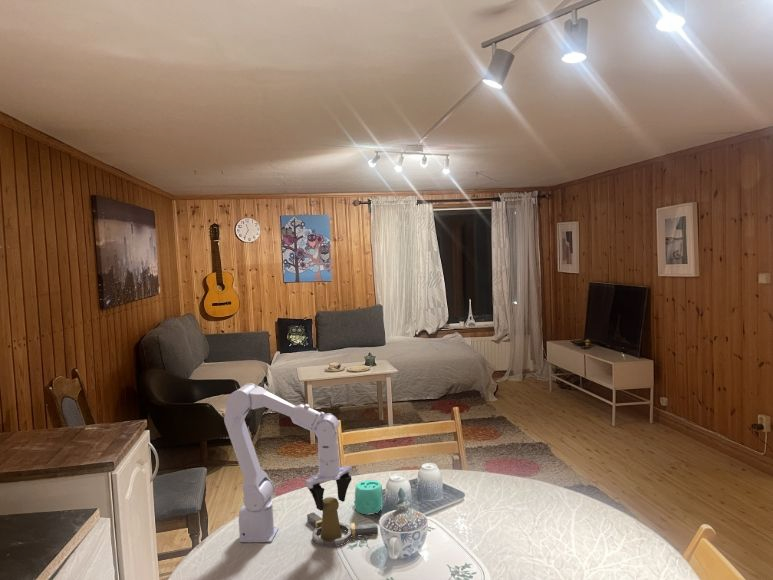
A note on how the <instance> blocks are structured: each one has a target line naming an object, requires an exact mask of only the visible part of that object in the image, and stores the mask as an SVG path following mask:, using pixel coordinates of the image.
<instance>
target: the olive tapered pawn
mask: <svg viewBox="0 0 773 580" xmlns="http://www.w3.org/2000/svg"><path fill="white" fill-rule="evenodd" d="M339 505H340V503H339V499H338V498H335V497H333V496H330V497H329V496H328V497H325V498H323V510H321V511H322V515H321V518H322V527H321V533H320V538H321V539H324V540H335V539H339V538H340V537H341V538H342V537H343V535H342V530H341V529H340V524H339V522H340V519H339V514H338V510H339Z"/></svg>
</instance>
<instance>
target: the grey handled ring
mask: <svg viewBox="0 0 773 580" xmlns="http://www.w3.org/2000/svg"><path fill="white" fill-rule="evenodd" d="M306 519H307V523H308V524H310V525H311V526H313V527H314V529H313V532H312V541H313V542H314V544H315V545H317V546H319V547H323V548H336V547H339V546H338V545H340V546H342V545H341V544H343V545H345V544H347V543H348V542H349V541H351V540H352V537H356V536H357V537H359V536H358V535H367V536H371V535H370V534H378V535H379V526H378V523H366V524H357V525H356V523H355V522H352V523H350V525H349V524H347V523H343V522H340V521H339V524H340V529H341V531H344V530H346V531H347V532H348V533H347V532H346V531H345V532H346V534H345V535H343V536H341V538H339V539H335V540H324V539H321V537H319V535H321V527H322V516H319V515H318V514H316V513H315V512H310V513H308V514H306ZM351 536H352V537H351ZM350 539H351V540H350ZM348 540H349V541H348ZM347 541H348V542H347ZM346 542H347V543H346ZM344 543H345V544H344Z"/></svg>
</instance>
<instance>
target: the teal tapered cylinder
mask: <svg viewBox="0 0 773 580" xmlns="http://www.w3.org/2000/svg"><path fill="white" fill-rule="evenodd" d="M354 490H355V491H354V504H355V505H354V506H355V510H356V511H357V513H358V514H360V513H361V514H360V515H363V514H368V513H376V512H378V511H380V510H381V511H382V510H383V485H382V483H381V482H379V481H378V480H374V479H366V480H365V479H364V480H362V481H359V482H357V483H356V484H355V489H354ZM381 511H380V512H381Z"/></svg>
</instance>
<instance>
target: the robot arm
mask: <svg viewBox="0 0 773 580" xmlns="http://www.w3.org/2000/svg"><path fill="white" fill-rule="evenodd" d="M225 405H226V407H225V412H224V417H223V421H224V425H225V429H226V431H227V433H228V436H229V437H228V438H229V439H230V443H231V445H232V447H233V451H234V454H235V456H236V460H237V463H238V466H239V469H240V470H241V474H242V477H243V480H242V481H243V482H242V491H243V498H242V499H243V505H242V506H241V507H240V509H239V512H238V528H239V529H238V531H239V540H238V542H239V543H272V541H273V540H274V539H275V538H274V537H275V535H276V534H277V532H278V530H279V526H275V525H274V524H275V523H274V510H273V509H274V508H273V505H274V504H273V501H272V495H273V494H274V493H275V484H274V482H273V481H272V480H271V479H270V478H269V476H268V473H267V472H266V471H264V470H263V469H262V468H261V464H260V462H259V458H258V455H257V453H256V450H255V446H254V444H253V440H252V439H251V436H250V435H251V434H250V432H249V429H248V425H247V424H246V420H245V418H246V416H247V415H248V414H249V411H250V410H256V409H261V408H266V409H269V410H271V411H275V412H277V413H279V414H282V415H285V416H287V417H289V418H290V419H291V422H292V423H293V424H295V425H297V426H299V427H302V428H303V429H306V430H308V431H310V432H312V433H314V434H315V436H316V438H317V454H318V455H317V457H318V473H316V474H315V475H313V476H311V477H309V478H308V479H306V480H305V484H306V485H305V487H307V489H308V490H309V492H310V494H311V496H312V498H313V499H314V503H315V507H316V509H317V510H318V511H320V512H321V511H322V510H323V499H324V493H325V488H324V487H322V485H321V484H323V483H327V482H330V481H336V482H335V483H336V486H337V488H336V489H337V500H338V501H340V502H342V503H344V502H345V500H346V496H347V491H348V488H349V485H350V483H351V482H352V476H351V474H352V473H353V470H352V469H353V467H352V466H350V465H345V466H341V467H340V459H339V440H338V432H337V431H338V429H339V426H340V425H339V424H340V422H339V420H338V418H337V417H336V416H335V415H334V414H332V413H330V412H329V413H325V412H323V411H318V410H316V409H313V408H311V407H310V406H311V405H310V404H308V403H305V404H302V403H300V404H297V405H294V404H293V403H290V402H289V401H287V400H285V399H283V398H281V397H279V396H278V395H276V394H273V393H271V392H270V391H268V390H266V389H265V388H264V387H262V386H259V385H256V384H255V383H250V382H248V383H245V384H243V385H242V386H241V387H240V388H238V389H237V390H234V391H233V392H231V393H230V395H229V396H228V398H227V399H226V401H225Z"/></svg>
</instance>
